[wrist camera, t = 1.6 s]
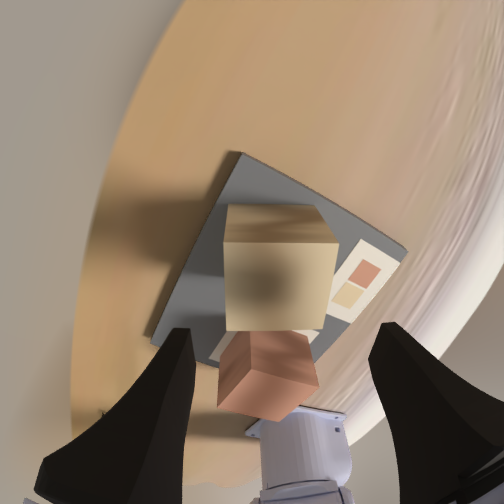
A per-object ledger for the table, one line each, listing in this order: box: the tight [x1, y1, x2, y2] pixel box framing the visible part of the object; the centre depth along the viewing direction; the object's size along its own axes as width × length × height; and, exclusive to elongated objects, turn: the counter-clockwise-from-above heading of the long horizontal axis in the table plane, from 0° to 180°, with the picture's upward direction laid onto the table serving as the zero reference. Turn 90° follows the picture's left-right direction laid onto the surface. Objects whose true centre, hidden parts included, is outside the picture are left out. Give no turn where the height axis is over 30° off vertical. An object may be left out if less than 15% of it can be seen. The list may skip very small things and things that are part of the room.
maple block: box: [223, 204, 339, 331], centre depth 16 cm, size 5×5×5 cm
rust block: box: [217, 330, 319, 422], centre depth 20 cm, size 5×5×5 cm
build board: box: [150, 152, 408, 368], centre depth 21 cm, size 13×16×1 cm
